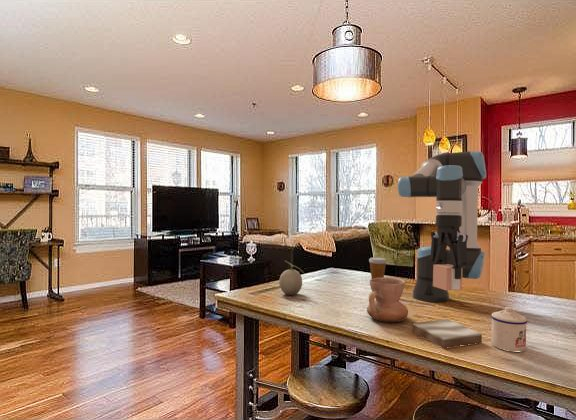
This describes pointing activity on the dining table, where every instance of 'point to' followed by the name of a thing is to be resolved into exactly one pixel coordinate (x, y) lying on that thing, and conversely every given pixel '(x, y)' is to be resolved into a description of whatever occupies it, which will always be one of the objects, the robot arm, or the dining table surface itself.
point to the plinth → (447, 333)
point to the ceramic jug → (387, 300)
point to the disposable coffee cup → (377, 267)
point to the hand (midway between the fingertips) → (447, 286)
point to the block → (443, 276)
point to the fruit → (290, 281)
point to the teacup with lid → (508, 330)
